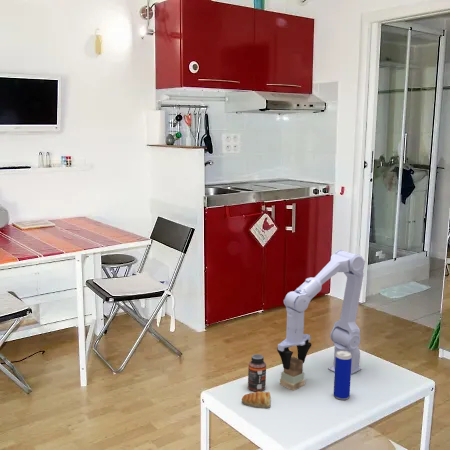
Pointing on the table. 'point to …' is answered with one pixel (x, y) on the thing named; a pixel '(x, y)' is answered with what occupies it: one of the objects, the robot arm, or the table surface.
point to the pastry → (257, 399)
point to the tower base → (292, 386)
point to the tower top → (292, 378)
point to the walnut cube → (294, 367)
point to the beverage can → (342, 375)
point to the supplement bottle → (257, 373)
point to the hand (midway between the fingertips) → (293, 365)
